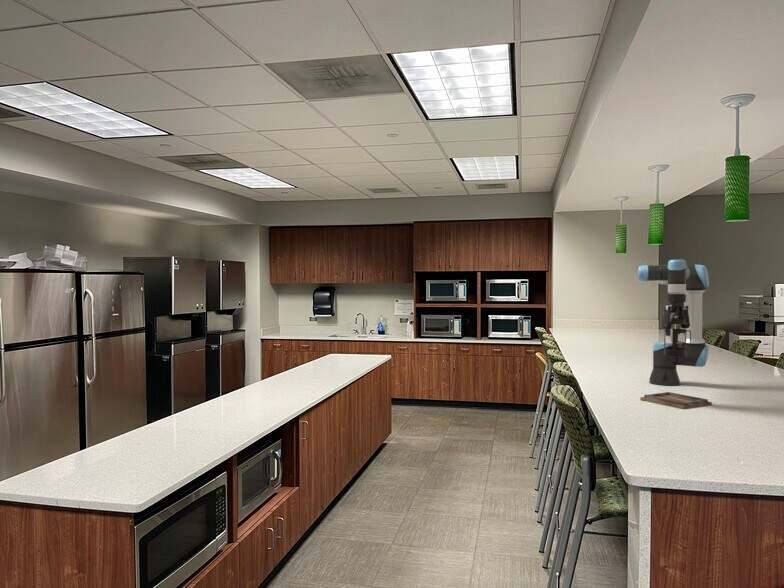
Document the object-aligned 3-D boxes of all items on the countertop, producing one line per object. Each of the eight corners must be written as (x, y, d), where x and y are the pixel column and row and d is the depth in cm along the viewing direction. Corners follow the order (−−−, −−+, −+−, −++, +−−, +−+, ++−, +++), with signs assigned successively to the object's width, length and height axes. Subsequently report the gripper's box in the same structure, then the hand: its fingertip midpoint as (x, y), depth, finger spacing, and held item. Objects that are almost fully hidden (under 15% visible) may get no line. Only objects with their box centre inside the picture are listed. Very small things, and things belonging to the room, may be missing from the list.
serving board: (668, 396, 280) (668, 391, 280) (711, 404, 260) (712, 399, 260) (640, 400, 270) (640, 394, 270) (683, 409, 251) (683, 403, 251)
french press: (661, 355, 264) (661, 305, 263) (662, 353, 272) (663, 304, 272) (690, 357, 258) (690, 306, 258) (691, 355, 266) (691, 305, 266)
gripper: (684, 293, 273) (683, 340, 273) (653, 293, 263) (653, 342, 263) (699, 293, 266) (698, 342, 266) (668, 293, 256) (667, 344, 256)
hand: (676, 342), depth 265 cm, fingers closed on french press, 9 cm apart
